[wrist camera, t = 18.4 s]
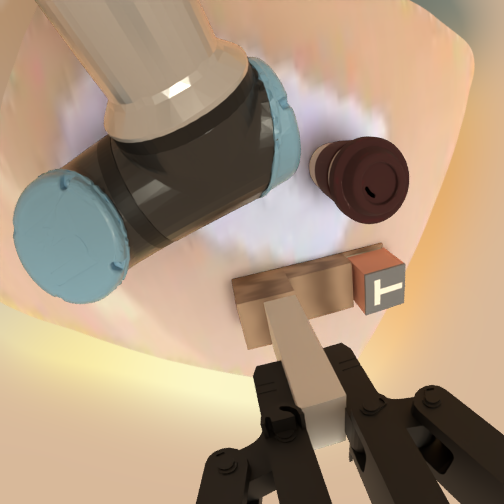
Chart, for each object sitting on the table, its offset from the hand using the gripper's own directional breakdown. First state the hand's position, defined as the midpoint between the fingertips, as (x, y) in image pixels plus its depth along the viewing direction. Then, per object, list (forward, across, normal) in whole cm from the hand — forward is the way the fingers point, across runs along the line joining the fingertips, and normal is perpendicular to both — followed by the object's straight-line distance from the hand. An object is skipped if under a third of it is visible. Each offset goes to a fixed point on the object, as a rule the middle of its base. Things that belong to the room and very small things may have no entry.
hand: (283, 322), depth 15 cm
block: (+25, +19, -17) cm, 36 cm away
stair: (+32, +10, -17) cm, 38 cm away
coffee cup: (+33, +15, +1) cm, 36 cm away
